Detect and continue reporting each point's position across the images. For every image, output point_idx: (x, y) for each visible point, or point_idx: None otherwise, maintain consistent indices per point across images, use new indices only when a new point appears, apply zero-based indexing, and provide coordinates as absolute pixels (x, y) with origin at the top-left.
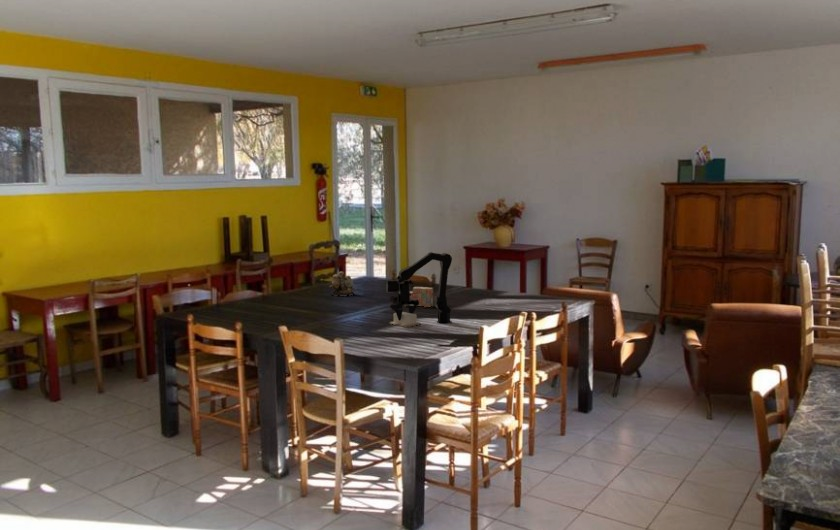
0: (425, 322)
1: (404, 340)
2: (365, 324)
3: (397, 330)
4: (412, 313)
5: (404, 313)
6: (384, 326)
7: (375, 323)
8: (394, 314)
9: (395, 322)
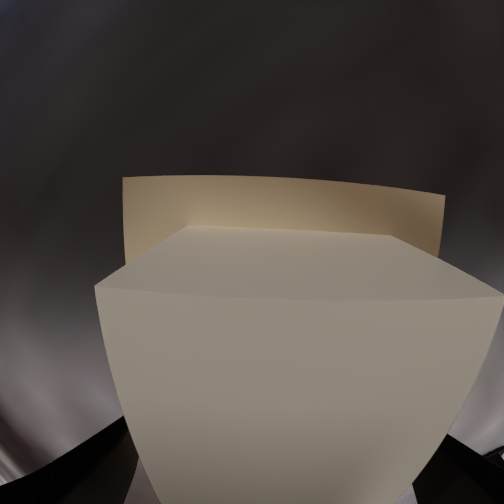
0: (452, 433)
1: (18, 477)
2: (16, 16)
3: (43, 424)
4: (422, 501)
5: (324, 499)
6: (19, 236)
7: (83, 16)
8: (119, 320)
9: None
